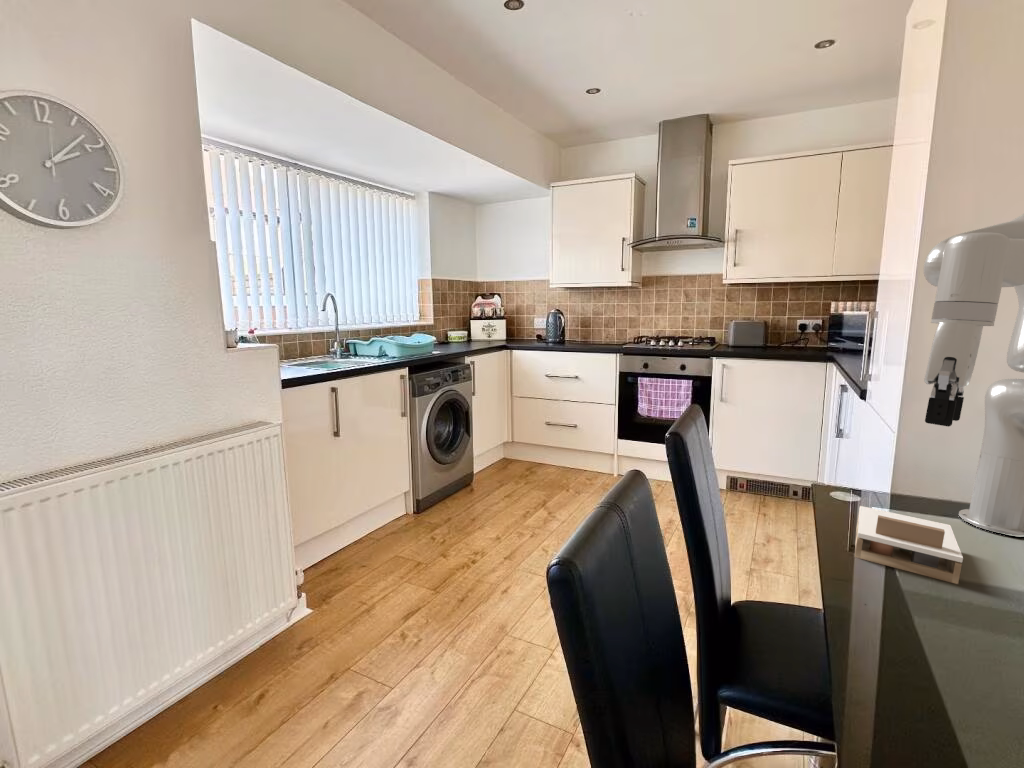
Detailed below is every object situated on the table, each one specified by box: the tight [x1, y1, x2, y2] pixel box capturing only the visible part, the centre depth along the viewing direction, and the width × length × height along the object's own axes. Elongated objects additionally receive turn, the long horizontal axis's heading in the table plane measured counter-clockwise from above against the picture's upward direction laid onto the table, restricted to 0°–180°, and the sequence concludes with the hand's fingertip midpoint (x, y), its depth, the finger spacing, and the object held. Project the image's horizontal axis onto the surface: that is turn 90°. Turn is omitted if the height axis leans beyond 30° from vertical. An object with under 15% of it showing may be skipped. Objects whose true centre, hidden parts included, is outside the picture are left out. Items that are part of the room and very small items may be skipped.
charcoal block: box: [911, 551, 939, 568], centre depth 87 cm, size 3×3×3 cm
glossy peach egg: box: [869, 541, 894, 557], centre depth 91 cm, size 3×3×3 cm
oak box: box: [854, 513, 963, 585], centre depth 92 cm, size 16×14×4 cm
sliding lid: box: [858, 505, 964, 564], centre depth 92 cm, size 16×14×4 cm
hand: (942, 421), depth 82 cm, fingers open, 9 cm apart
